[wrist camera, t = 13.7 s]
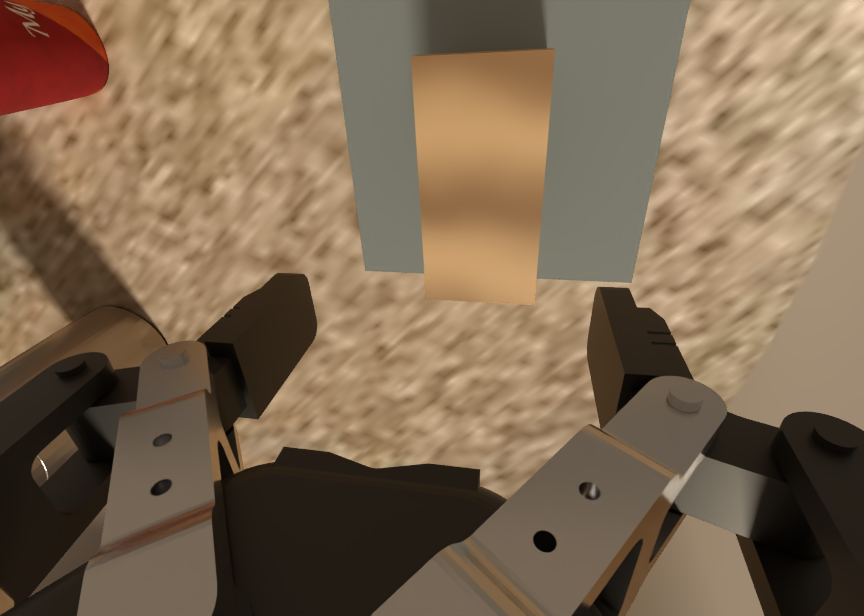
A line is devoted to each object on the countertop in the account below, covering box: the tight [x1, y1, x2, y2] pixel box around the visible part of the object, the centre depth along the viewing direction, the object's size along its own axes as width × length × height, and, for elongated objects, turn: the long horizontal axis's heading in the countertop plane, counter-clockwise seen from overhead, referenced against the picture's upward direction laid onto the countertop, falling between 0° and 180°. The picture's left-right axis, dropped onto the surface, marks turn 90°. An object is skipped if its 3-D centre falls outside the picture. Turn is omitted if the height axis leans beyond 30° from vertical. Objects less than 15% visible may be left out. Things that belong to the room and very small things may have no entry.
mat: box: [329, 0, 690, 283], centre depth 29 cm, size 20×18×1 cm
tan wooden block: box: [411, 48, 555, 305], centre depth 25 cm, size 12×6×9 cm, turn 3°
